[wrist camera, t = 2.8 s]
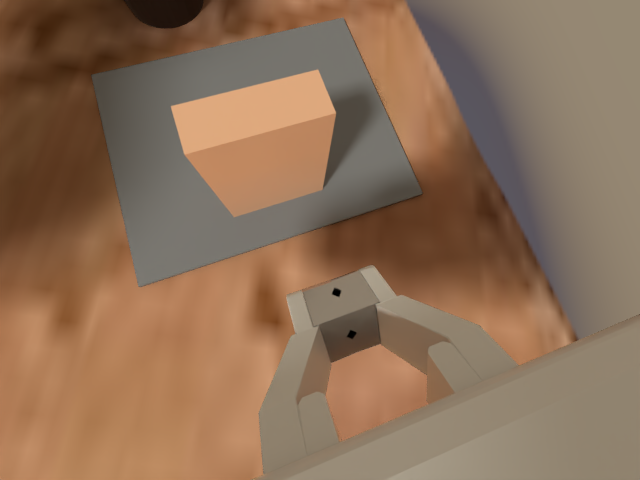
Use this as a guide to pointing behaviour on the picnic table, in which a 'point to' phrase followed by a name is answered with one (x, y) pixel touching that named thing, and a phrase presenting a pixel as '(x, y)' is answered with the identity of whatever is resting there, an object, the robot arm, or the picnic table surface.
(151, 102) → the mat
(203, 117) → the light orange block
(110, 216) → the picnic table surface
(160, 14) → the coffee mug
